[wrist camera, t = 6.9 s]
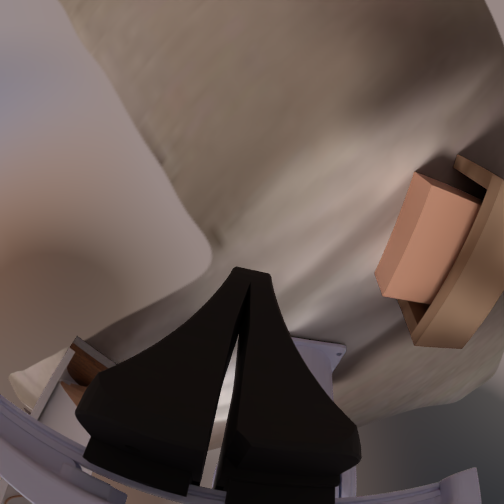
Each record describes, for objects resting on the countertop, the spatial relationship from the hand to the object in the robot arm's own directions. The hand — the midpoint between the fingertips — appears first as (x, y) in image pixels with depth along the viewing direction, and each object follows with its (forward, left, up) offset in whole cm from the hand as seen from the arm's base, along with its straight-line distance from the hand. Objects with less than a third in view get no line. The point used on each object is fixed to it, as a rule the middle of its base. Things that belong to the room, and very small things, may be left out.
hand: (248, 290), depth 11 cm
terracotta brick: (+1, -12, -9) cm, 15 cm away
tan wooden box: (+1, -14, -8) cm, 17 cm away
